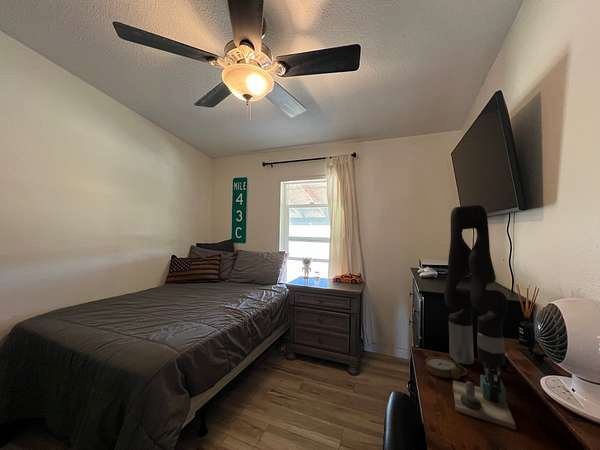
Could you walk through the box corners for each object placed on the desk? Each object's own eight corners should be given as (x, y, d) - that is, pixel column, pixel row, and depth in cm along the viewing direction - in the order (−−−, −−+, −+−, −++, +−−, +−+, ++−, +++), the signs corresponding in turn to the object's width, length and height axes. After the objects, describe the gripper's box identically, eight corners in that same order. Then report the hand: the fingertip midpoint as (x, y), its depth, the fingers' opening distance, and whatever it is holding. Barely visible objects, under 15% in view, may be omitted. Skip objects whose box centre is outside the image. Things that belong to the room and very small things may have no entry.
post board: (452, 384, 91) (452, 361, 91) (502, 397, 83) (501, 373, 84) (455, 410, 77) (454, 384, 78) (515, 429, 70) (514, 400, 70)
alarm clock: (426, 354, 109) (465, 358, 100) (429, 365, 108) (468, 370, 99) (423, 365, 99) (465, 370, 91) (425, 377, 99) (468, 384, 90)
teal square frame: (480, 388, 86) (480, 374, 86) (501, 393, 83) (501, 379, 83) (483, 398, 81) (482, 383, 81) (505, 404, 78) (505, 389, 78)
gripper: (474, 337, 91) (476, 381, 90) (480, 353, 78) (482, 404, 78) (499, 341, 87) (501, 387, 86) (510, 359, 75) (512, 413, 74)
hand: (492, 395), depth 82 cm, fingers closed on teal square frame, 6 cm apart
